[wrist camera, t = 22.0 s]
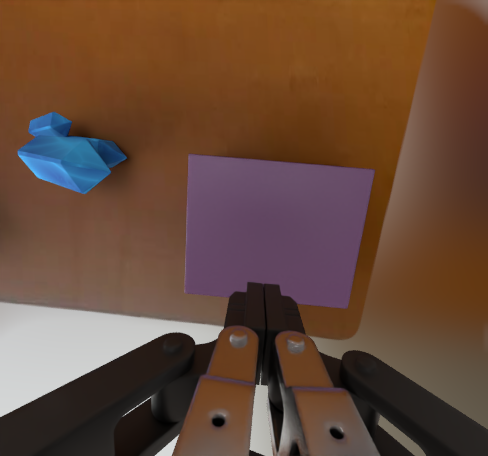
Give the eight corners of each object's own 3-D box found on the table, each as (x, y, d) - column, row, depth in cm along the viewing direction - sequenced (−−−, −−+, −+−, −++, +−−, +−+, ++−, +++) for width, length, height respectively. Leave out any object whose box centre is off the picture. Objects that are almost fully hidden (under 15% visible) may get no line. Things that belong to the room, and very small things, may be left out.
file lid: (186, 289, 27) (184, 293, 26) (190, 154, 24) (188, 153, 23) (345, 304, 27) (347, 308, 26) (371, 169, 23) (375, 169, 23)
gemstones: (-17, 97, 24) (90, 114, 22) (67, 116, 32) (152, 131, 30) (-12, 177, 26) (88, 202, 23) (67, 177, 34) (147, 195, 32)
